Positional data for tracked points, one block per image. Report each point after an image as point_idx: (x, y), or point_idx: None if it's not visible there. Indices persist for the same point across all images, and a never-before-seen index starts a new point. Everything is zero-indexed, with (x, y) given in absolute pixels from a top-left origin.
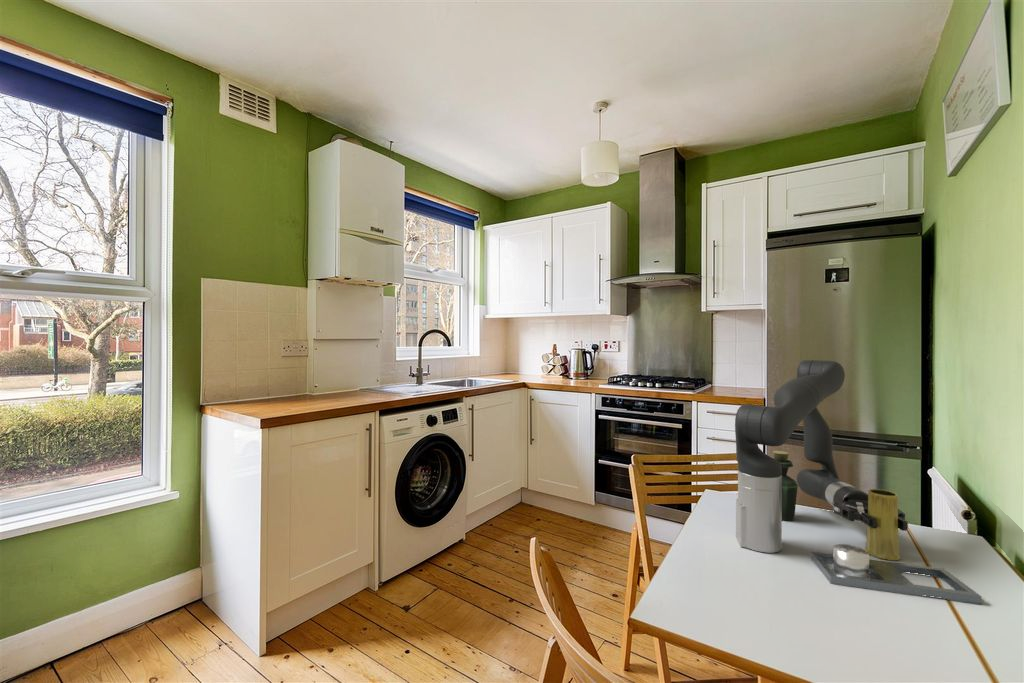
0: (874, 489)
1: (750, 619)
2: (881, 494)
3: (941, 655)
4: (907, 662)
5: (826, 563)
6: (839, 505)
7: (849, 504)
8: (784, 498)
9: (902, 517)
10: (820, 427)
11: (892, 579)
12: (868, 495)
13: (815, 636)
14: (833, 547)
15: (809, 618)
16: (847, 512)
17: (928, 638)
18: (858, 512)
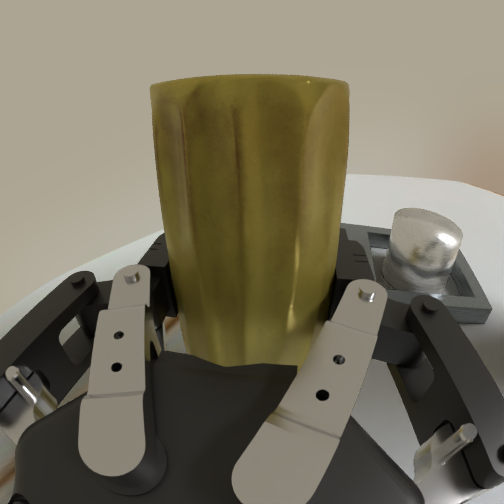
0: (256, 78)
1: (497, 208)
2: (192, 129)
3: (360, 181)
4: (392, 180)
5: (461, 269)
6: (495, 390)
7: (391, 485)
8: None
9: (99, 286)
10: None
11: (351, 235)
12: (348, 125)
13: (453, 195)
14: (461, 232)
15: (461, 207)
16: (425, 393)
17: (360, 190)
18: (385, 297)
